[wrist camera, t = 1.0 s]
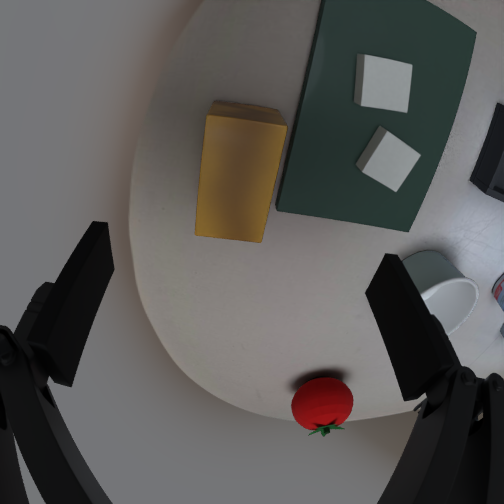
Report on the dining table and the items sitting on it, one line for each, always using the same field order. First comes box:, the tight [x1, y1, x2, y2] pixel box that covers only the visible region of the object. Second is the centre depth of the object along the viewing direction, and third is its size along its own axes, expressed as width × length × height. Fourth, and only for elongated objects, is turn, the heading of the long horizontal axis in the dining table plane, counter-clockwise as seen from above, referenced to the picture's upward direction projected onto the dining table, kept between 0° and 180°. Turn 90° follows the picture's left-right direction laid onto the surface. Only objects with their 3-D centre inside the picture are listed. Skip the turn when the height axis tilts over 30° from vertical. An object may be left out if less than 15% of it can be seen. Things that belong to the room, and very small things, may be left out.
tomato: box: [291, 377, 353, 436], centre depth 44 cm, size 10×10×10 cm
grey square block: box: [354, 54, 412, 113], centre depth 18 cm, size 4×4×2 cm
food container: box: [402, 251, 479, 336], centre depth 31 cm, size 12×12×6 cm
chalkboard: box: [275, 0, 477, 232], centre depth 21 cm, size 22×14×1 cm, turn 170°
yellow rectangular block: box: [195, 101, 288, 243], centre depth 22 cm, size 5×9×6 cm, turn 170°
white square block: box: [356, 126, 421, 192], centre depth 22 cm, size 4×4×2 cm
